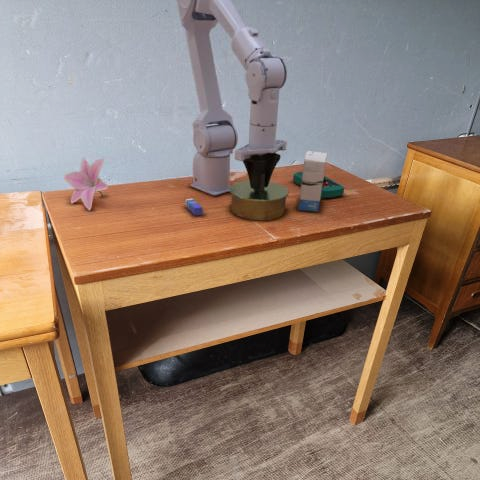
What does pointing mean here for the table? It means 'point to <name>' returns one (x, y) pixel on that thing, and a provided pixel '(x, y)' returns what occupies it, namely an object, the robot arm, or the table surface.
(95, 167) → the lily
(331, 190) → the digital multimeter
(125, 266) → the table surface
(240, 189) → the pan lid
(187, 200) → the eraser
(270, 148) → the robot arm
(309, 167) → the ink box
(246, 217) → the pan
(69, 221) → the table surface
